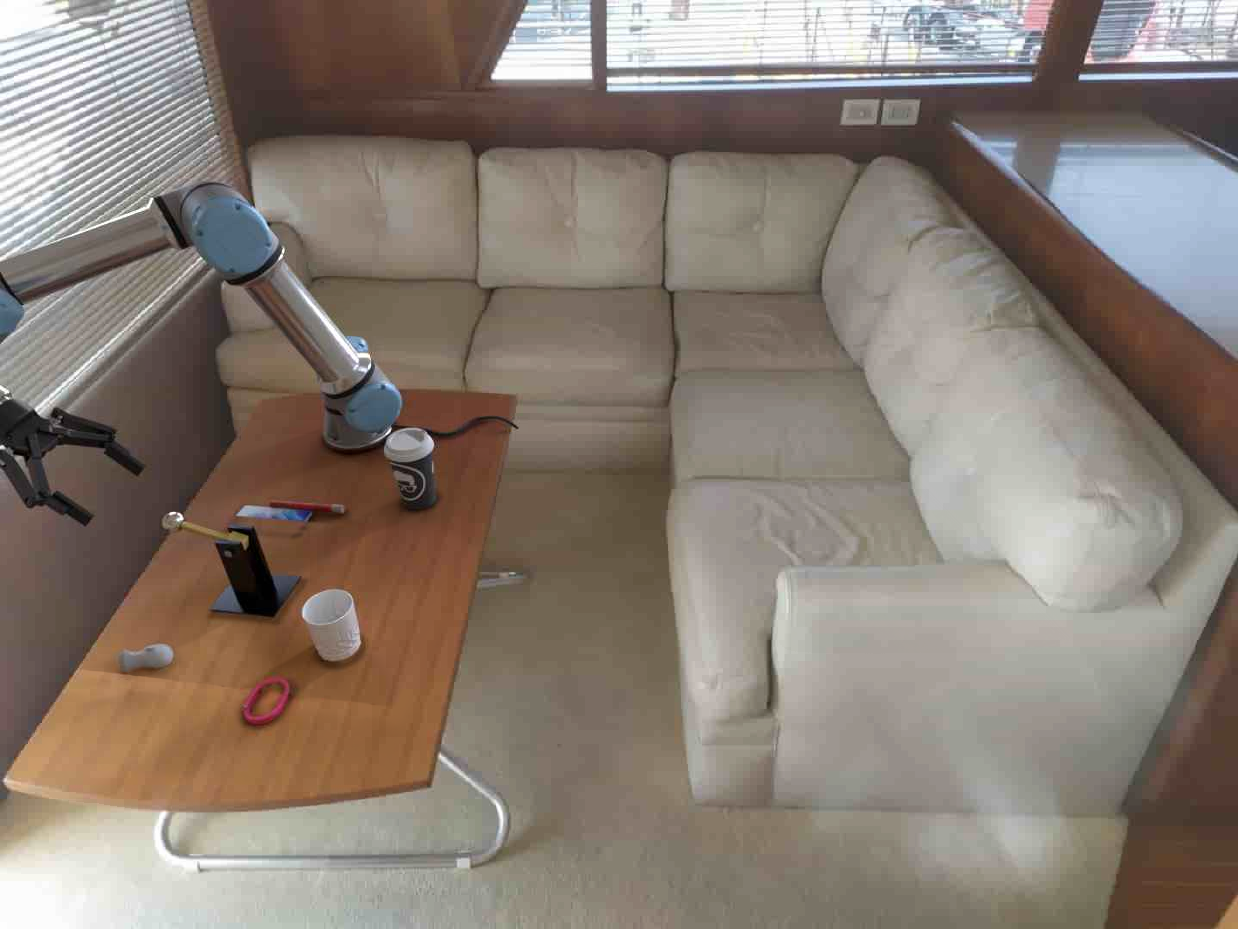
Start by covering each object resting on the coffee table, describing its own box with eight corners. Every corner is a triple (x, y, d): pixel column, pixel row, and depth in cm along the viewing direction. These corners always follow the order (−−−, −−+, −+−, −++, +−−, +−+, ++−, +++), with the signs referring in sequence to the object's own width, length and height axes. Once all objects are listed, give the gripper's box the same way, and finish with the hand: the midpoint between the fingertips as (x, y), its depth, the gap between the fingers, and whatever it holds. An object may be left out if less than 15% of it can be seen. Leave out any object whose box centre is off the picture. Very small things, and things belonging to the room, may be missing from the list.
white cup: (314, 640, 143) (299, 597, 137) (362, 627, 145) (350, 584, 139) (318, 674, 136) (303, 630, 131) (368, 660, 139) (355, 616, 133)
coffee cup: (448, 507, 171) (436, 446, 162) (400, 520, 168) (386, 457, 159) (438, 481, 178) (426, 421, 169) (392, 492, 175) (378, 431, 167)
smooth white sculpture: (181, 658, 142) (169, 675, 137) (131, 662, 141) (117, 679, 136) (176, 635, 140) (164, 651, 135) (125, 639, 140) (111, 655, 135)
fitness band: (264, 681, 136) (261, 674, 135) (298, 685, 135) (296, 678, 134) (237, 722, 129) (234, 716, 128) (273, 727, 128) (270, 721, 127)
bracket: (212, 615, 148) (184, 550, 139) (241, 576, 156) (217, 512, 147) (276, 622, 146) (252, 557, 138) (303, 582, 154) (282, 518, 146)
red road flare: (341, 515, 169) (339, 508, 168) (270, 510, 171) (268, 503, 170) (345, 509, 171) (343, 503, 170) (274, 505, 173) (272, 498, 172)
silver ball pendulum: (158, 533, 143) (156, 518, 141) (170, 520, 146) (169, 504, 144) (239, 559, 143) (239, 544, 141) (250, 545, 146) (250, 530, 144)
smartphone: (243, 504, 172) (313, 509, 170) (245, 507, 173) (314, 513, 170) (224, 526, 166) (296, 532, 164) (225, 529, 167) (297, 536, 165)
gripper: (43, 386, 147) (152, 463, 154) (-74, 471, 127) (57, 555, 134) (58, 361, 143) (169, 441, 150) (-60, 444, 123) (74, 532, 130)
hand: (117, 495), depth 142 cm, fingers open, 13 cm apart
